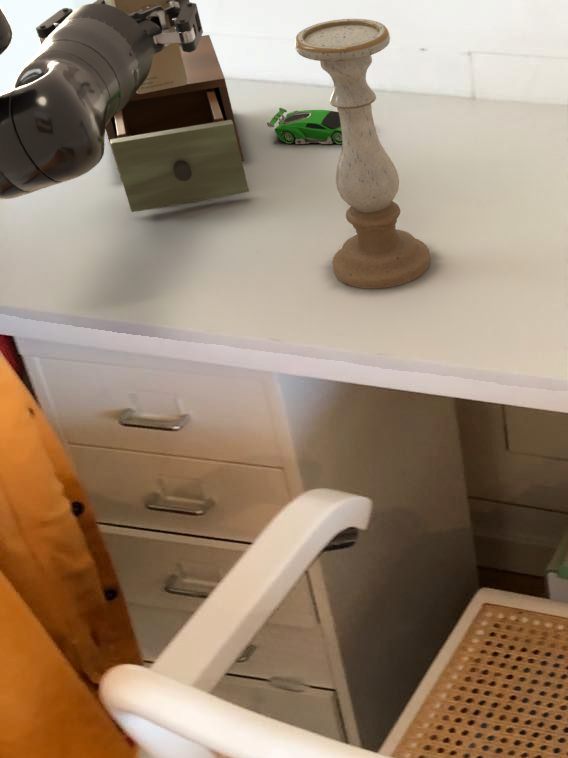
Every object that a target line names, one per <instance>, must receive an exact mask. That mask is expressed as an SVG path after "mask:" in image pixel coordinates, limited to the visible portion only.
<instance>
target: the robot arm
mask: <svg viewBox="0 0 568 758" xmlns="http://www.w3.org/2000/svg"><path fill="white" fill-rule="evenodd" d="M167 14H168V18H169V21H170V25H171V26H170V27H167V23H166V19H165V17H166V15H167ZM146 17H149V18H150V20H149V19H147V18H146ZM35 30H36V34H37V36H38V40H39V43H40V47H39V50H38V51H37V52H36V53H35V54H34V55H33V56H32V57H31V58H30V59H29V60H28V61H27V62H26V63H25V64H24V65H23V67H22V69H20V71H19V73H18V75H17V77H16V80H15V82H14V85H13V88H12V89H9V90H7V91H4V92H1V93H0V200H10V199H16V198H19V197H22V196H25V195H29V194H31V193H34V192H36V191H37V192H38V191H40V190H42V189H46V188H50V187H52V186H56V185H59V184H62V183H64V182H69V181H71V180H73V179H76V178H79V177H82V176H83V175H85V174H87V173H89V172H91V170H93V169H94V168H95V167H96V166H97V165H98V164H99V163H100V162H101V161H102V159H103V157H104V155H105V154H104V153H105V138H106V129H105V126H106V125H107V123H108V122H109V121H110V119H111V118H112V117H113V116H115V115H116V114H117V113H119V112H120V111H121V110H122V109H123V108H124V107H125V106H126V104H127V103H128V102H129V100H130V99H131V98H132V97H133V95H134V94H135V93H136V91H137V90H138V89H139V87H140V86H141V85H142V84H143V82H144V81H145V80H146V78H147V76H148V74H149V72H150V69H151V64H152V59H153V55H154V54H156V53H158V52H160V51H162V50H163V49H164V47H166V46H168V45H170V44H174V43H178V45H179V47H182V51H184V52H192V51H194V50H196V48H197V46H198V43H199V41H200V38H201V36H203V34H204V30H203V26H202V22H201V18H200V13H199V10H198V6H197V3H195V2H190V0H168V1H167V2H166V4H164V5H161V6H159V5H152V4H148V5H146V6H143V7H141V8H139V9H136V10H134V11H129V10H126V11H122V10H120V9H118V8H116V7H113V6H110V5H107V4H105V1H104V0H95V1H93V2H91V3H87V4H83V5H81V6H79V7H76V8H75V9H74V10H73V9H72V8H71V7H70V8H68V7H63V8H61V9H59V10H58V11H56V12H55V13H53V15H51V16H50V17H48V18H47V19H45V20H44V21H43V22H42V23H40V24H39V25H37V26H36V27H35ZM12 41H13V29H12V26H11V23H10V22H9V20H8V18H7V15H6V13H5V12H4V11H3V9H2V7H1V6H0V56H1V55H2V54H4V53H5V52H6V50H7V49H8V48H9V47H10V45H11V44H12Z"/></svg>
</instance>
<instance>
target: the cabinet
mask: <svg viewBox="0 0 568 758" xmlns="http://www.w3.org/2000/svg"><path fill="white" fill-rule="evenodd" d="M180 51H181V55H182V59H183V63H184V68H185V72H186V76H187V80H188V84H186V85H183V86H178V87H173V88H168V89H163V90H158V91H153V92H148V93H143V94H138V93H135V94H134V95H133V97H132V98H131V99H130V100H129V101H136V100H142V99H148V98H155V97H161V96H167V95H174V94H180V93H186V92H193V91H199V90H205V89H212V88H213V89H214V92H215V95H216V98H217V101H218V104H219V107H220V110H221V113H222V116H223V119H224V121H226V120H232V122H233V126H234V130H235V134H236V138H237V142H238V146H239V151H240V155H241V159H242V163H243V162H245V157H244V154H243V149H242V146H241V141H240V136H239V133H238V128H237V123H236V120H235V116H234V111H233V107H232V103H231V99H230V95H229V94H230V93H229V90H228V85H227V83H226V77H225V75H224V72H223V70H222V67H221V64H220V62H219V58H218V56H217V53H216V50H215V47H214V45H213V42H212V39H211V36H210V35H209V34H205V35H202V36H201V38H200V41H199V43H198V46H197V48H196V50H194V51H192V52H184V51H182V47H180ZM105 133H106V135H107V138H108V141H109V146H110V148H111V153H112V155H113V158H114V161H115V165H116V168H117V171H118V174H119V178H120V180H121V182H122V179H121V176H120V172H119V169H118V166H117V163H116V159H115V156H114V153H113V150H112V146H111V142H110V140H111V139H116V138H118V135H117V129H116V123H115V116H113V117H112V118H111V119H110V121H109V122H108V123H107V125H106V126H105Z"/></svg>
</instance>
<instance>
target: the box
mask: <svg viewBox="0 0 568 758" xmlns="http://www.w3.org/2000/svg"><path fill="white" fill-rule="evenodd" d="M104 1H105V4H107V5H110V6H113V7H116V8H118V9H120V10H122V11H126V10H129V11H134V10H136V9H139V8H141V7H143V6H146V5H148V4H152V5H159V6H161V5H164V4H166V2H167V1H168V0H104ZM146 18H147V19H149V20H150V18H149V17H146ZM165 19H166V23H167V27H170V26H171V25H170V21H169V18H168V14H167V15H166V17H165ZM186 84H188V80H187V76H186V72H185V68H184V63H183V59H182V55H181V51H180V47H179V45H178V43H174V44H170V45H168V46H166V47H164V49H163V50H162V51H160V52H158V53H156V54H154V55H153V59H152V64H151V69H150V72H149V74H148V76H147V78H146V80H145V81H144V82H143V84H142V85H141V86H140V87H139V89H138V90H137V91H136V93H138V94H143V93H148V92H153V91H158V90H163V89H168V88H173V87H178V86H183V85H186Z"/></svg>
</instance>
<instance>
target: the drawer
mask: <svg viewBox="0 0 568 758" xmlns="http://www.w3.org/2000/svg"><path fill="white" fill-rule="evenodd" d="M115 123H116V129H117V135H118V138H116V139H111V140H110V142H111V145H110V147H111V146H112V149H111V151H112V150H113V152H112V154H113V153H114V155H113V157H114V156H115V158H114V160H115V159H116V162H115V164H116V163H117V165H116V167H117V166H118V168H117V170H118V169H119V171H118V173H119V172H120V174H119V177H120V176H121V178H120V180H121V179H122V181H121V182H122V186H123V189H124V192H125V195H126V198H127V201H128V204H129V208H130V211H131V213H135V212H141V211H146V210H151V209H152V210H153V209H158V208H163V207H164V208H165V207H170V206H176V205H182V204H187V203H192V202H193V203H194V202H199V201H203V200H209V199H214V198H220V197H227V196H232V195H238V194H243V193H249V192H250V188H249V185H248V181H247V176H246V173H245V168H244V163H243V162H242V159H241V155H240V151H239V146H238V142H237V138H236V134H235V130H234V126H233V122H232V120H226V121H224V119H223V116H222V113H221V110H220V107H219V104H218V101H217V98H216V95H215V92H214V89H213V88H212V89H205V90H199V91H193V92H186V93H180V94H174V95H167V96H161V97H155V98H148V99H142V100H136V101H129V102H128V103H127V104H126V106H125V107H124V108H123V109H122V110H121V111H120V112H119V113H117V114H116V115H115ZM110 142H109V143H110Z"/></svg>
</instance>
